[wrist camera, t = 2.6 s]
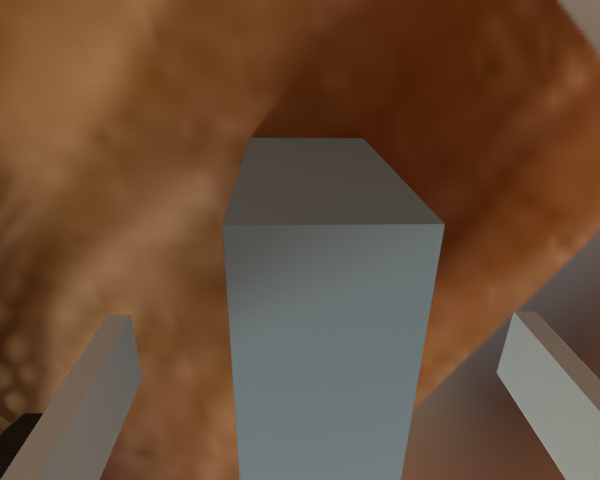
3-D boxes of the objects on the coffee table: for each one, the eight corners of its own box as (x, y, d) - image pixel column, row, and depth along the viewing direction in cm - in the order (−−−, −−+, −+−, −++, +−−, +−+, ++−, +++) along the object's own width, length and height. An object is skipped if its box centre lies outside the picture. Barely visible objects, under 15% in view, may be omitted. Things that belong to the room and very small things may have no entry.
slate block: (346, 352, 23) (389, 543, 14) (257, 354, 23) (244, 549, 14) (363, 137, 18) (444, 224, 9) (250, 137, 18) (222, 225, 9)
